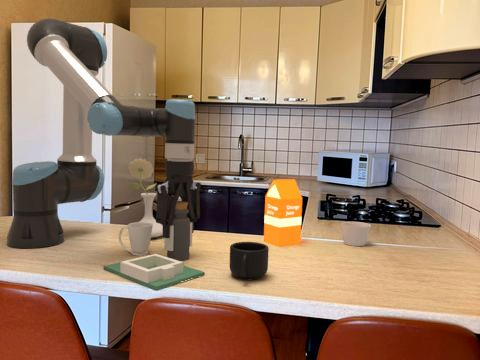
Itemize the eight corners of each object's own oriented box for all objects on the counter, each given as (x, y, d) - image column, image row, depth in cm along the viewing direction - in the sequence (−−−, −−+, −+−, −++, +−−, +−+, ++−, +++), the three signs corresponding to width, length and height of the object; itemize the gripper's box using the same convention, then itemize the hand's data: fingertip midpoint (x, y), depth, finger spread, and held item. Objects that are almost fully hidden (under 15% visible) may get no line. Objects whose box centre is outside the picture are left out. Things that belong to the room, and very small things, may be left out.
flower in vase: (171, 234, 139) (172, 158, 137) (157, 242, 128) (158, 160, 125) (135, 231, 142) (136, 157, 139) (118, 238, 131) (118, 158, 128)
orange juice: (300, 243, 131) (303, 180, 129) (279, 247, 126) (281, 181, 124) (284, 238, 138) (286, 177, 136) (263, 241, 133) (265, 178, 131)
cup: (145, 258, 110) (145, 227, 110) (112, 254, 113) (112, 224, 112) (157, 251, 117) (158, 223, 116) (125, 248, 120) (126, 220, 119)
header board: (103, 269, 100) (103, 255, 100) (151, 257, 111) (151, 245, 110) (156, 290, 87) (156, 275, 87) (204, 275, 98) (204, 261, 97)
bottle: (162, 257, 111) (163, 201, 110) (179, 253, 115) (180, 199, 114) (176, 262, 107) (177, 204, 106) (193, 258, 111) (194, 202, 110)
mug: (233, 268, 104) (234, 240, 103) (269, 271, 102) (270, 242, 101) (222, 284, 92) (223, 252, 91) (263, 288, 90) (264, 256, 90)
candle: (358, 240, 139) (359, 221, 138) (375, 246, 130) (377, 226, 130) (335, 241, 136) (336, 222, 135) (350, 248, 127) (351, 227, 127)
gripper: (160, 161, 99) (158, 257, 101) (215, 160, 113) (213, 244, 116) (140, 160, 104) (140, 251, 106) (196, 158, 118) (194, 239, 120)
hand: (178, 247), depth 111 cm, fingers closed on bottle, 6 cm apart
